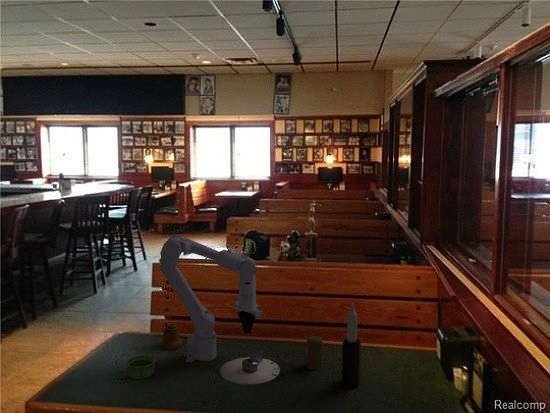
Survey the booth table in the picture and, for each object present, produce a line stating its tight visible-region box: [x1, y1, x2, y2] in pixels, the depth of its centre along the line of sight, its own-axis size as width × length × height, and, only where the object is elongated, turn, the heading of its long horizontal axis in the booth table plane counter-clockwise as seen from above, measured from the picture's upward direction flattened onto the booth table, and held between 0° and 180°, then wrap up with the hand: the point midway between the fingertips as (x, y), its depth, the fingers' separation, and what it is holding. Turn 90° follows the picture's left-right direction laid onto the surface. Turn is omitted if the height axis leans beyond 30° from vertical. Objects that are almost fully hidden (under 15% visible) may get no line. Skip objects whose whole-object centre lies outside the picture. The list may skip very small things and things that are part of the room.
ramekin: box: [125, 354, 156, 380], centre depth 146 cm, size 9×9×4 cm
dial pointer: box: [242, 350, 264, 372], centre depth 148 cm, size 10×5×3 cm, turn 155°
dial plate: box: [219, 356, 281, 385], centre depth 146 cm, size 19×19×2 cm
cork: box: [305, 335, 324, 376], centre depth 149 cm, size 6×6×11 cm
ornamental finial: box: [160, 323, 183, 351], centre depth 168 cm, size 8×8×8 cm
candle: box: [341, 302, 362, 388], centre depth 140 cm, size 5×5×25 cm
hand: (247, 332), depth 156 cm, fingers closed
